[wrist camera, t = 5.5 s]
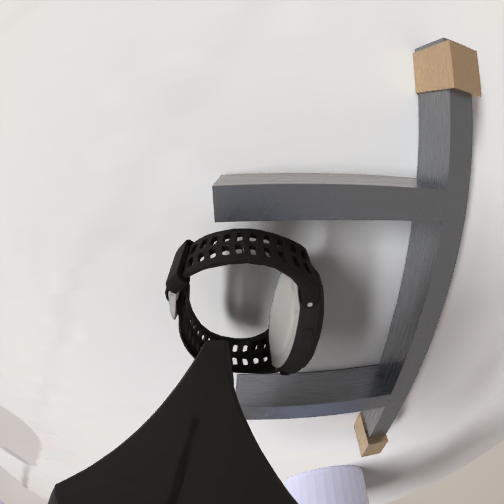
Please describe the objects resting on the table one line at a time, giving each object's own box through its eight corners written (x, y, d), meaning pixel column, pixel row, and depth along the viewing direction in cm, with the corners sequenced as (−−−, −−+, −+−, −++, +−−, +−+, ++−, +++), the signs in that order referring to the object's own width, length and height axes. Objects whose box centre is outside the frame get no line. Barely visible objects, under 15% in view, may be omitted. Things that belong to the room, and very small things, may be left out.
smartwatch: (259, 422, 9) (355, 338, 6) (130, 340, 9) (162, 218, 6) (289, 346, 12) (358, 261, 10) (188, 284, 13) (232, 183, 10)
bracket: (370, 425, 15) (378, 454, 13) (243, 435, 15) (242, 467, 13) (438, 56, 7) (475, 45, 5) (216, 32, 7) (203, 5, 5)
